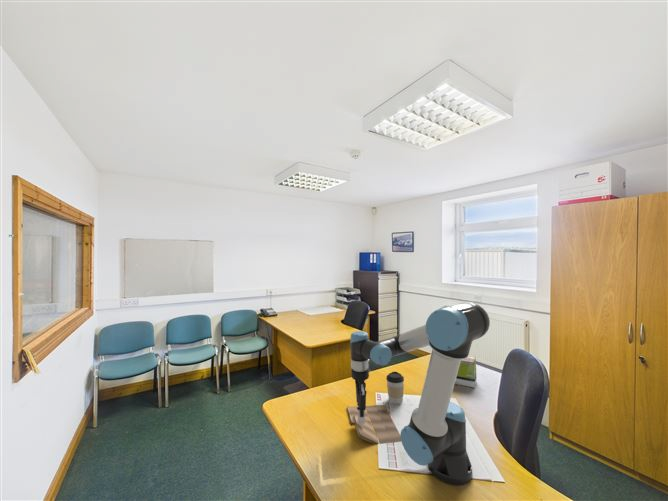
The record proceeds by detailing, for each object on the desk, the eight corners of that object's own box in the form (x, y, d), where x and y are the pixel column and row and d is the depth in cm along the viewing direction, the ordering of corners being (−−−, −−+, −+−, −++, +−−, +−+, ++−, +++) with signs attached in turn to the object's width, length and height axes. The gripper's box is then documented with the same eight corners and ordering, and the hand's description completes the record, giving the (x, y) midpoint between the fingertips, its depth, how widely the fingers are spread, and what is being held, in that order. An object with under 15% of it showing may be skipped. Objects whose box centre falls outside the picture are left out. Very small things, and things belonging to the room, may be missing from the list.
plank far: (370, 425, 131) (370, 422, 131) (351, 425, 130) (351, 422, 130) (364, 409, 144) (364, 406, 144) (347, 408, 143) (347, 406, 143)
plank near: (377, 446, 117) (379, 443, 117) (358, 436, 116) (360, 433, 116) (369, 425, 130) (371, 423, 130) (352, 417, 129) (354, 414, 130)
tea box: (476, 381, 170) (476, 356, 170) (474, 388, 162) (474, 362, 162) (450, 376, 178) (449, 352, 178) (446, 382, 170) (446, 357, 170)
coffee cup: (405, 408, 144) (404, 378, 144) (386, 406, 146) (386, 377, 146) (404, 398, 153) (403, 371, 153) (387, 397, 155) (386, 370, 155)
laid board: (403, 444, 118) (403, 441, 118) (379, 446, 117) (379, 443, 117) (384, 407, 146) (384, 404, 146) (365, 408, 145) (365, 406, 145)
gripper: (372, 374, 117) (373, 431, 117) (365, 361, 130) (366, 413, 130) (354, 375, 116) (355, 433, 116) (349, 362, 129) (350, 414, 129)
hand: (361, 422), depth 123 cm, fingers closed
